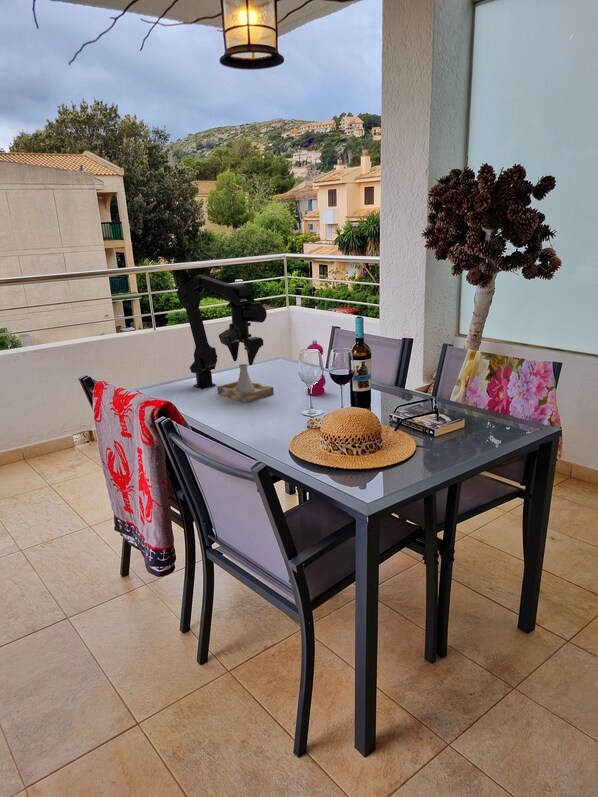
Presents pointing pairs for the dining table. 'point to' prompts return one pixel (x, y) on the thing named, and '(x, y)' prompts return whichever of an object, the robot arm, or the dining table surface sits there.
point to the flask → (244, 380)
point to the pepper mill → (318, 386)
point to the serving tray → (258, 393)
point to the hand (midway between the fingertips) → (242, 363)
